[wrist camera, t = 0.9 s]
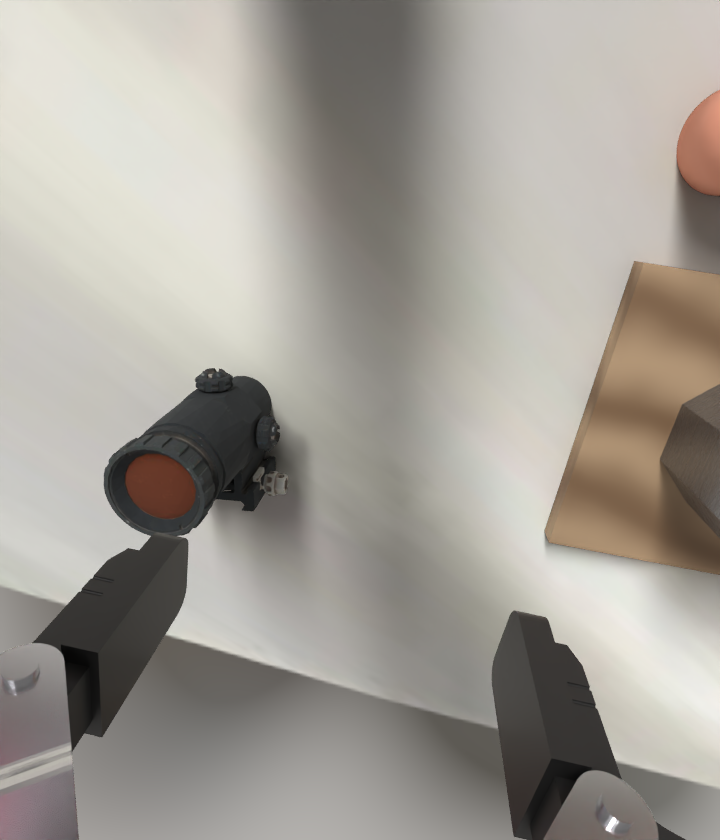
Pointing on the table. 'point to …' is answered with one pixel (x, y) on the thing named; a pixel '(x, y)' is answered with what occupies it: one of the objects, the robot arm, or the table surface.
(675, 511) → the walnut board
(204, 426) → the scope
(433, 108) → the table surface
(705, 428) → the grey octagonal cup
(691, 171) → the salmon pink rounded cylinder
